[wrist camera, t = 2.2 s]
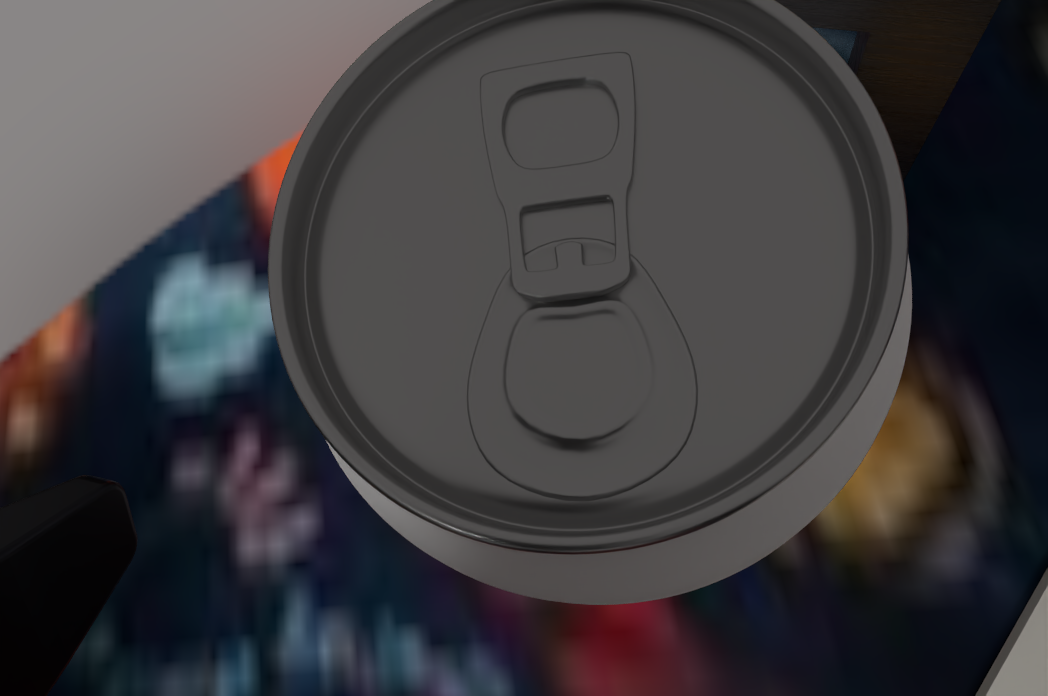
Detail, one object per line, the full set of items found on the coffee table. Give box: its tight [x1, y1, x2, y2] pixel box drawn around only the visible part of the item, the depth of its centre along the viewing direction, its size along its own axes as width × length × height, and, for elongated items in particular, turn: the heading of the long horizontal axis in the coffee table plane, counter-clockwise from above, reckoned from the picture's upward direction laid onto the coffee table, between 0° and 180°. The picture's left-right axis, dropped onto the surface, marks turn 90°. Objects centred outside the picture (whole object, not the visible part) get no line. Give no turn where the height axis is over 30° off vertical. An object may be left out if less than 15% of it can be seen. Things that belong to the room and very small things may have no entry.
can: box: [268, 0, 912, 605], centre depth 13 cm, size 6×6×12 cm
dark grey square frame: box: [775, 0, 1001, 181], centre depth 16 cm, size 2×8×8 cm, turn 77°
